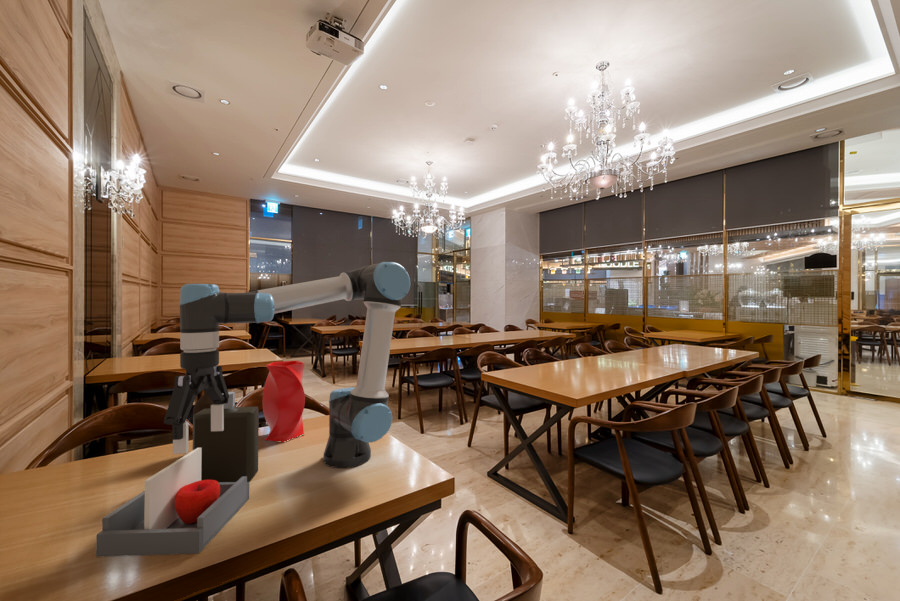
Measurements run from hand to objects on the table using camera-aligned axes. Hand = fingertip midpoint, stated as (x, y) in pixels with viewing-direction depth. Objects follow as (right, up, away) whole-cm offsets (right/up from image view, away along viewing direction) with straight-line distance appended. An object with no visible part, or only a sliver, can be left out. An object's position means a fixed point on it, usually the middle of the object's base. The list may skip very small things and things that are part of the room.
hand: (200, 441), depth 86 cm
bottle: (-7, -20, +21) cm, 30 cm away
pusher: (-8, -18, -1) cm, 19 cm away
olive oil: (-23, -20, +39) cm, 50 cm away
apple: (-1, -18, 0) cm, 18 cm away
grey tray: (-4, -19, 0) cm, 19 cm away
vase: (-5, -20, +57) cm, 60 cm away
